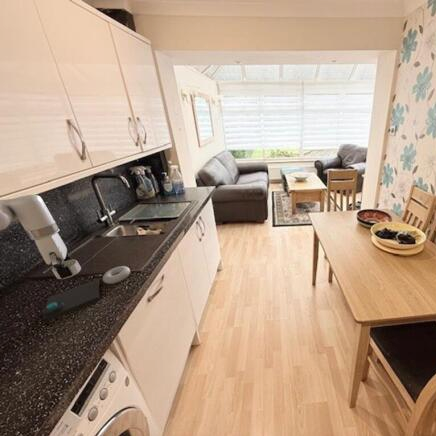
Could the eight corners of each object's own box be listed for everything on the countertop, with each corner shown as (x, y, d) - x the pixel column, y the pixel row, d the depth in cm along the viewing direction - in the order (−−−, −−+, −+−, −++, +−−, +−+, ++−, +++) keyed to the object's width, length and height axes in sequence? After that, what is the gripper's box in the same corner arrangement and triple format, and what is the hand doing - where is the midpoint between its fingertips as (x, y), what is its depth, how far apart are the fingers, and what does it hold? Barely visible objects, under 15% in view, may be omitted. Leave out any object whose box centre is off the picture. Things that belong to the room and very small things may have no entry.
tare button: (47, 311, 84) (45, 308, 83) (48, 307, 86) (47, 304, 85) (57, 307, 85) (55, 305, 85) (58, 303, 87) (56, 301, 87)
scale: (44, 322, 83) (40, 316, 82) (50, 300, 93) (46, 294, 92) (100, 300, 91) (96, 294, 90) (99, 281, 101) (96, 276, 100)
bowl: (52, 279, 88) (46, 270, 86) (72, 267, 94) (67, 258, 92) (67, 281, 86) (61, 272, 85) (86, 268, 93) (81, 260, 91)
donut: (105, 277, 105) (103, 289, 97) (101, 270, 103) (100, 282, 95) (131, 268, 109) (131, 279, 102) (128, 261, 108) (128, 272, 100)
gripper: (33, 225, 86) (58, 265, 94) (22, 244, 74) (51, 288, 81) (60, 219, 90) (81, 257, 98) (54, 235, 78) (79, 278, 85)
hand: (68, 271), depth 90 cm, fingers closed on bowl, 7 cm apart
